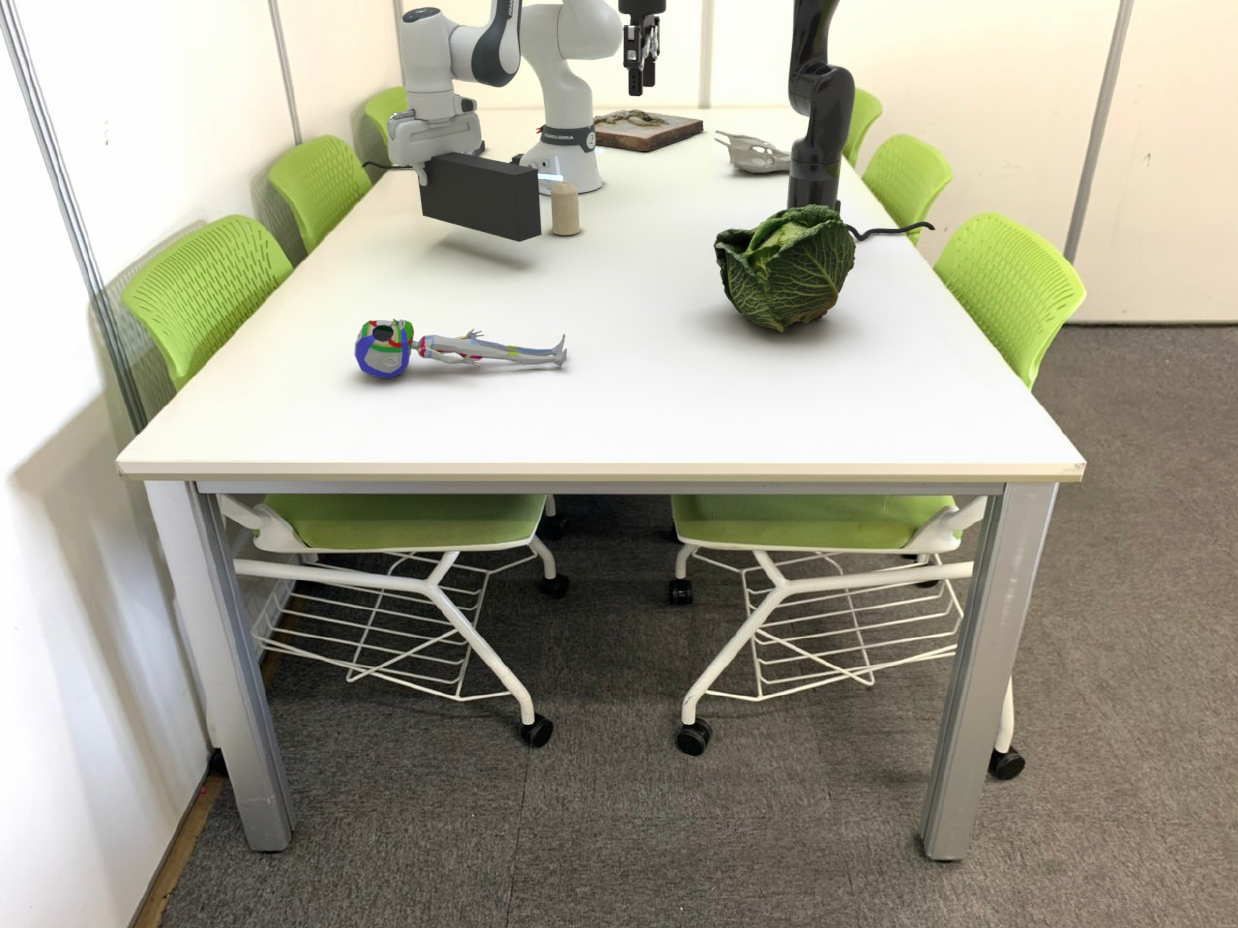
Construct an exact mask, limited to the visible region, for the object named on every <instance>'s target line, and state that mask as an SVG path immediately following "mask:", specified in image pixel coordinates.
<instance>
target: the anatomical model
mask: <svg viewBox="0 0 1238 928" xmlns="http://www.w3.org/2000/svg"><path fill="white" fill-rule="evenodd" d="M714 133H715V134H719V135H722V136H725V137H727V138H728V139H729V143H727V142H725V141H723V140H721V139H719V138H716V137H714V141H716V142H717V143H720V144H722V145H723V146H726V147H727V151H728V154H729V164H730V165H731V164H733V165H734V167H735V168H736V169H738V170H741V169H742V170H744V171H747V172H748V173H753V174H763V173H765V174H767V173H771V172H777V171H790V160H791V151H783V150H780V149H778V148H777V147H776V146H775V145H774V144H772V143H770V142H768V141H765V140H763V139H761V138H758V137H754V136H751V135H750V136H749V135H746V134H734V133H729V132H726V131H722V130H715V132H714ZM754 148H762V149H764V151H763V152H761V151H758V150H756V149H754ZM768 150H770V151H771V153H769V152H768Z"/></svg>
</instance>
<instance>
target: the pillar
mask: <svg viewBox="0 0 1238 928" xmlns="http://www.w3.org/2000/svg"><path fill="white" fill-rule="evenodd" d="M485 150H486V141H485V140H482V143H481V145H480V148H479V149H476V150H472V151H468V152H463V153H462V154H467V155H472V156H477V157H479V156H480V155H481V153H482V152H484V151H485Z"/></svg>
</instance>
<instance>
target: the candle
mask: <svg viewBox="0 0 1238 928" xmlns="http://www.w3.org/2000/svg"><path fill="white" fill-rule="evenodd" d="M550 202H551V203H550V205H551V222H552V223H551V224H552V225H551V226H552V232H553V233H554V234H555V235H559V236H572V235H575V234H578V233H579V232H580V211H579V210H580V208H579V207H580V206H579V193H578V189H577V188H576V187H575V186H574V185H573V184H572V183H571V182H570V183H566V182H559V181H558V182H557V183H556V184H555V185H554V186H553V188H552V189H551V195H550Z"/></svg>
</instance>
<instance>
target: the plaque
mask: <svg viewBox="0 0 1238 928" xmlns="http://www.w3.org/2000/svg"><path fill="white" fill-rule="evenodd" d="M593 123H594V124H595V133H596V144H595V145H597V146H598V145H599V146H607V147H612V148H620V149H625V150H632V151H640V152H648V151H654V150H656V149H659V148H662V147H663V146H664V147H665V146H667V145H670V144H672V143H676V142H680V141H682V140H684V139H687V138H691V137H692V136H694V135H696V134H698V133H700V132H704V130H705V129H704V120H702V119H698V118H693V117H685V116H679V115H669V114H663V113H659V112H650V111H644V110H642V109H637V108H636V109H635V108H634V109H630V110H629V109H620V110H616V111H613V112H610V113H608V114H602V115H594V117H593Z"/></svg>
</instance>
